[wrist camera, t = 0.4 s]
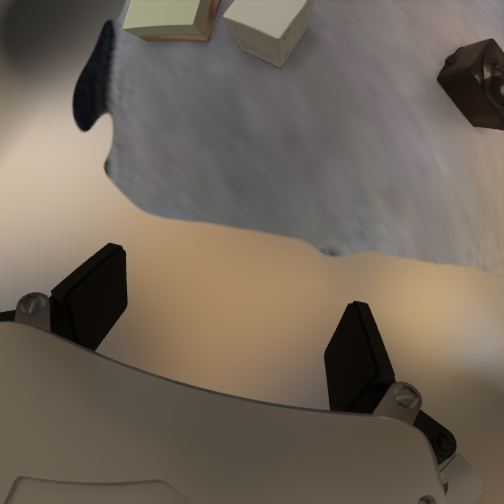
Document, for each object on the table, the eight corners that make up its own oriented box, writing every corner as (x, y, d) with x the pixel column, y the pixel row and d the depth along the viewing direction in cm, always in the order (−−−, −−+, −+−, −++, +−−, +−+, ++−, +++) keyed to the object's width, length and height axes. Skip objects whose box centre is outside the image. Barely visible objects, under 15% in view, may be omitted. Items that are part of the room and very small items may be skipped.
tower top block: (153, -17, 23) (142, -27, 19) (218, -21, 23) (212, -34, 19) (135, 36, 27) (122, 29, 23) (201, 34, 27) (192, 24, 23)
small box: (267, 10, 27) (261, -35, 15) (308, 28, 28) (319, -14, 16) (239, 50, 30) (220, 16, 19) (280, 69, 31) (280, 39, 19)
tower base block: (164, -8, 26) (154, -18, 23) (224, -10, 26) (219, -21, 23) (147, 41, 30) (135, 35, 27) (208, 42, 30) (201, 34, 27)
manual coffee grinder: (457, 43, 24) (526, 21, 8) (496, 93, 26) (567, 95, 10) (416, 95, 30) (493, 84, 14) (459, 148, 32) (538, 169, 15)
